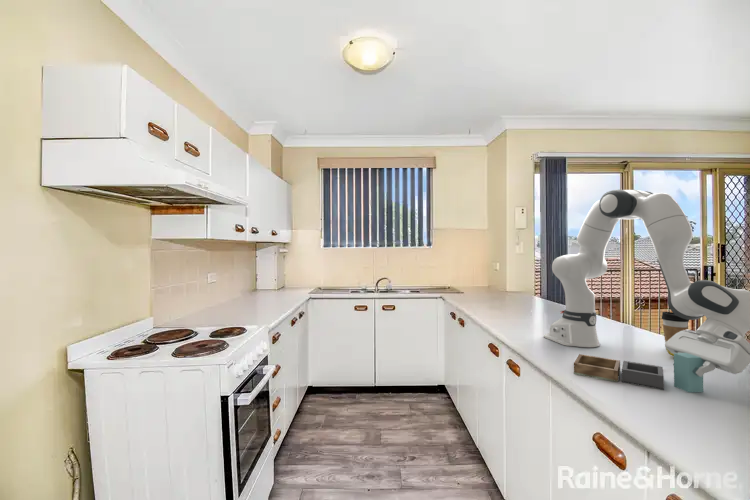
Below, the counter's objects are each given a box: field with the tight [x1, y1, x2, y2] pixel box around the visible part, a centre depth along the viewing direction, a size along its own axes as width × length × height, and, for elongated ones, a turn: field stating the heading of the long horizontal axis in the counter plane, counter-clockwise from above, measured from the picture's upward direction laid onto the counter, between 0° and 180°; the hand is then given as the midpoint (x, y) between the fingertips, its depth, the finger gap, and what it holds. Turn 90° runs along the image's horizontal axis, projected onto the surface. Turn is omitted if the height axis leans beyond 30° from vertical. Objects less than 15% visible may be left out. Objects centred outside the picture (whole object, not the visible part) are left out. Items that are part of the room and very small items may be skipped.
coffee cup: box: [661, 311, 690, 344], centre depth 137 cm, size 8×8×15 cm
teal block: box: [673, 353, 704, 393], centre depth 101 cm, size 4×4×10 cm
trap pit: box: [621, 360, 665, 391], centre depth 107 cm, size 10×10×4 cm
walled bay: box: [573, 353, 621, 383], centre depth 115 cm, size 12×12×4 cm
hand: (686, 370), depth 101 cm, fingers closed on teal block, 4 cm apart
